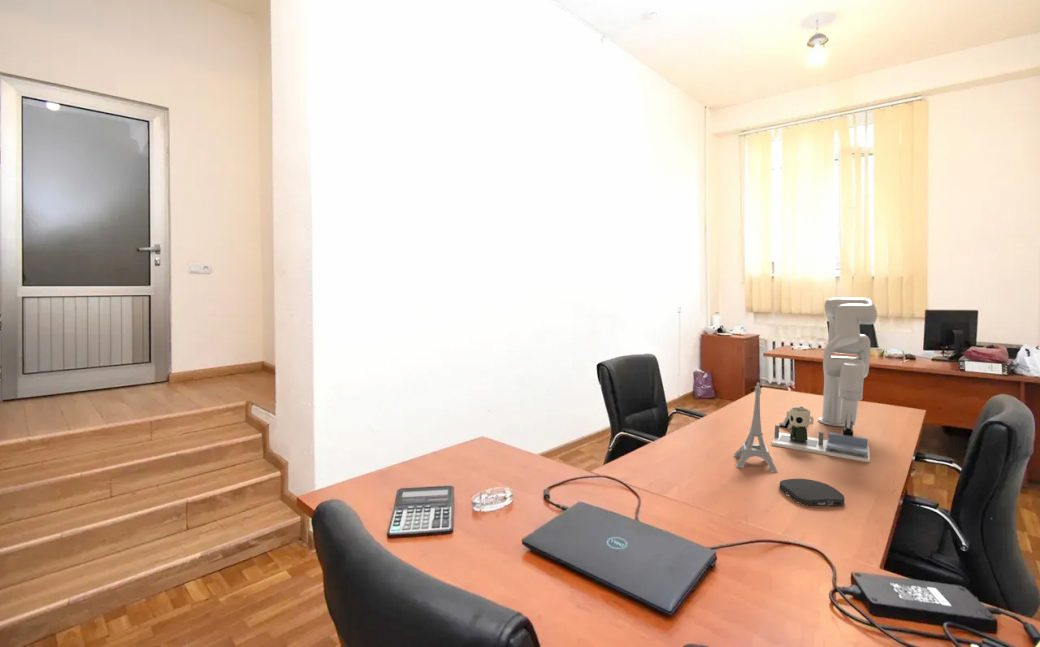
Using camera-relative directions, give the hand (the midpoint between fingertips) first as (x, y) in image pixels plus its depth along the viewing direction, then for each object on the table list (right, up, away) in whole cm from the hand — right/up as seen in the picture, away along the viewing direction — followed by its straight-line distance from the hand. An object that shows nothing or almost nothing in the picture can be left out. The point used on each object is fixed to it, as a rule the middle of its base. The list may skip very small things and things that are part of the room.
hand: (847, 440), depth 186 cm
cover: (-4, -2, -5) cm, 6 cm away
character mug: (-14, -2, +8) cm, 17 cm away
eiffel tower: (-43, -6, -12) cm, 45 cm away
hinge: (-1, -2, +34) cm, 34 cm away
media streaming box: (-38, -8, -39) cm, 55 cm away
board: (-9, -4, +4) cm, 10 cm away
